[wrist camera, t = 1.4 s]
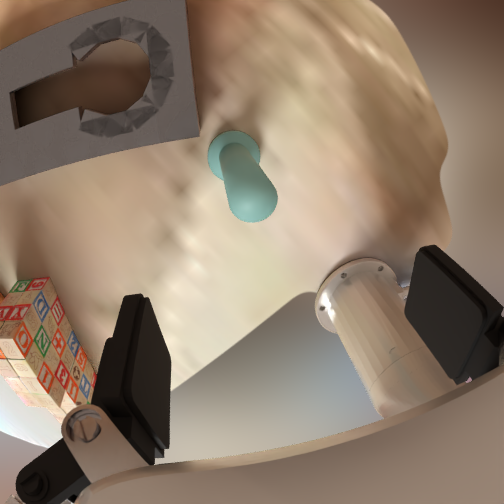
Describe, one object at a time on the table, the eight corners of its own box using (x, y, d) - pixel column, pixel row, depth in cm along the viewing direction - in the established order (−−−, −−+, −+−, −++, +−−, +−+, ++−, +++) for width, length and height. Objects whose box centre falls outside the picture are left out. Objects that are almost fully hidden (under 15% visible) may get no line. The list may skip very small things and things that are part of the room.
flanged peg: (256, 127, 30) (293, 154, 18) (260, 175, 33) (296, 232, 21) (204, 134, 30) (204, 164, 18) (211, 182, 32) (216, 243, 20)
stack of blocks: (102, 382, 45) (90, 443, 34) (71, 381, 45) (56, 440, 34) (49, 275, 35) (11, 339, 24) (16, 279, 34) (-24, 338, 23)
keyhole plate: (186, 2, 23) (184, -11, 19) (200, 130, 30) (199, 136, 26) (-12, 69, 21) (-34, 70, 17) (6, 178, 28) (-14, 191, 24)
